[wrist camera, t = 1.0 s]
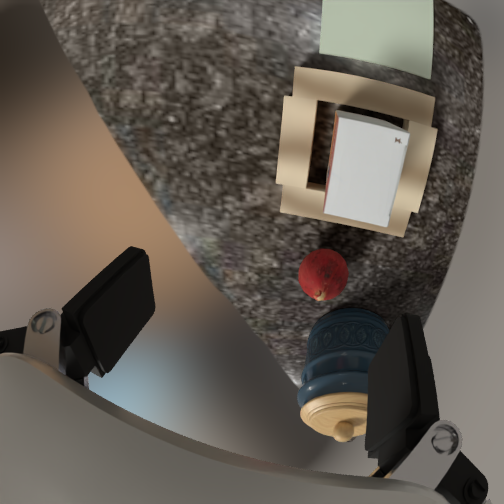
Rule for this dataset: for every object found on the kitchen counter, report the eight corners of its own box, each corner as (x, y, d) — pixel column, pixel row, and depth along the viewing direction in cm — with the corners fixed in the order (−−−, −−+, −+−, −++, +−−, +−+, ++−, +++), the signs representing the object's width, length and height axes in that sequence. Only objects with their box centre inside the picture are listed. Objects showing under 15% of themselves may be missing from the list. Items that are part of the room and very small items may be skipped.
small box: (335, 109, 26) (337, 112, 18) (386, 120, 25) (412, 131, 16) (325, 178, 30) (320, 215, 22) (373, 189, 29) (388, 229, 21)
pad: (324, -35, 17) (324, -37, 17) (430, -10, 15) (432, -11, 14) (319, 53, 23) (319, 52, 23) (428, 79, 21) (430, 79, 21)
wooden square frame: (290, 68, 25) (286, 65, 23) (434, 99, 22) (442, 100, 20) (277, 202, 33) (272, 210, 31) (405, 229, 30) (409, 238, 28)
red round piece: (313, 229, 34) (307, 265, 27) (355, 248, 34) (358, 287, 27) (295, 266, 37) (285, 306, 31) (335, 282, 37) (332, 324, 30)
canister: (292, 329, 43) (265, 430, 29) (363, 290, 36) (365, 405, 22) (338, 371, 46) (326, 462, 31) (403, 342, 39) (412, 442, 24)
